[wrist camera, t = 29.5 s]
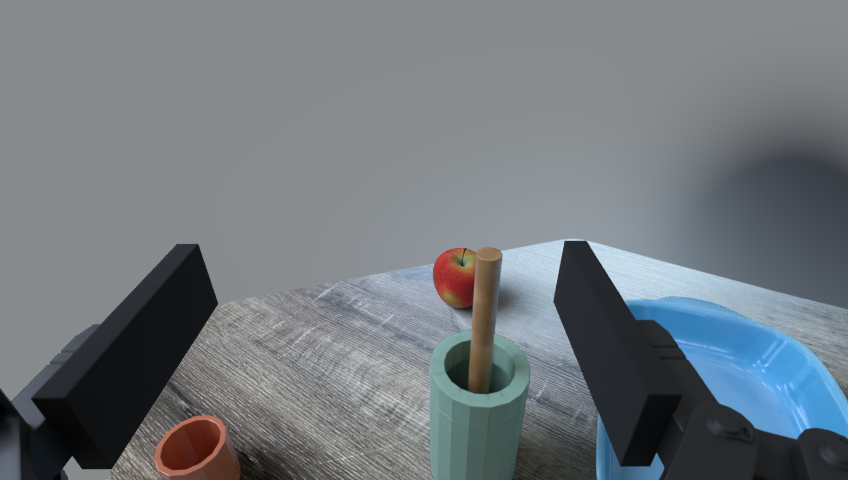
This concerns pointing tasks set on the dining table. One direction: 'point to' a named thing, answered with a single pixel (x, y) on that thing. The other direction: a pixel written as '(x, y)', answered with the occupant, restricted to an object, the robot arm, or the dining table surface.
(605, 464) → the casserole dish
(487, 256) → the tan long rod
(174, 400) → the dining table surface
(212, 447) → the cup
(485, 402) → the green cylindrical holder
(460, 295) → the apple
